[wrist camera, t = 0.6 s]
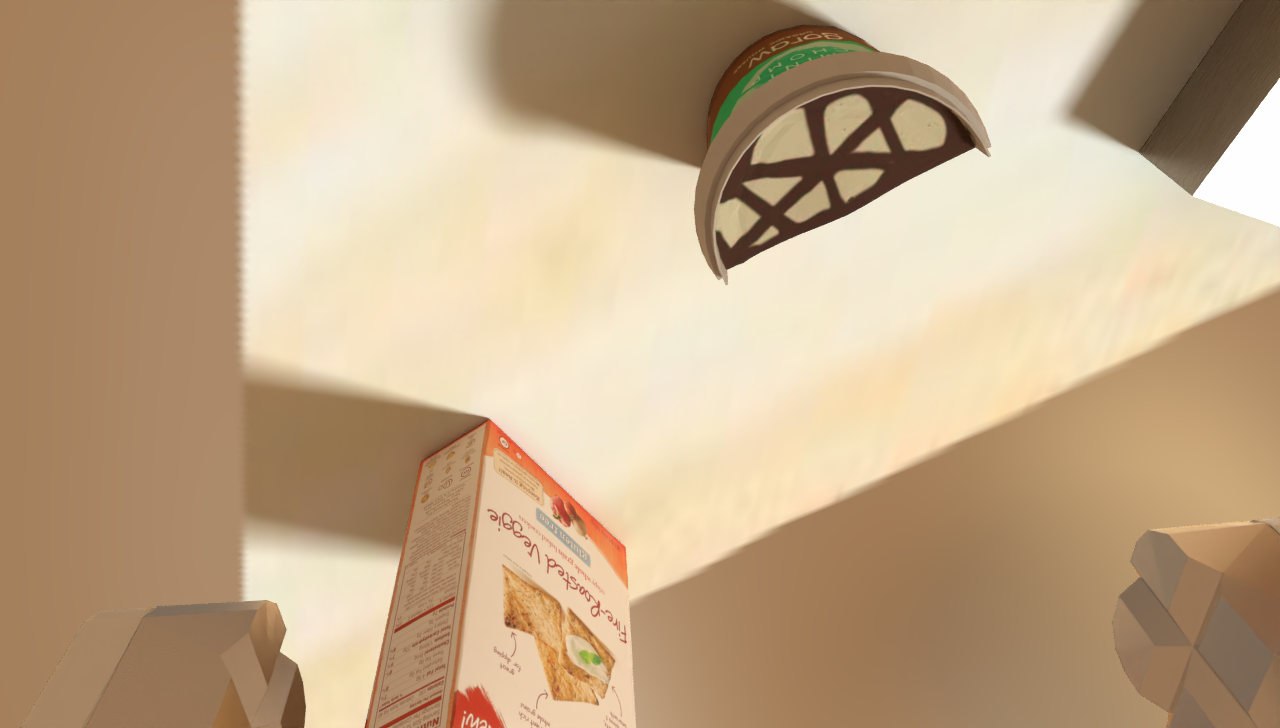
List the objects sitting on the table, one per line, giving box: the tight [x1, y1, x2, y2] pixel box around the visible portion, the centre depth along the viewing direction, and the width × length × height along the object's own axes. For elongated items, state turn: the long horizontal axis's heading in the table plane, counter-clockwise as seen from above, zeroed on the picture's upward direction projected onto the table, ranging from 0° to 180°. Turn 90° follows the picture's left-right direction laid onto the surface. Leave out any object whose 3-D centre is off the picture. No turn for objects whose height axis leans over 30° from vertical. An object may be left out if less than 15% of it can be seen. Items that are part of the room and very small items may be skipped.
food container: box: [694, 25, 991, 285], centre depth 39 cm, size 12×6×10 cm, turn 119°
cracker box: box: [365, 420, 636, 728], centre depth 50 cm, size 14×6×21 cm, turn 35°
